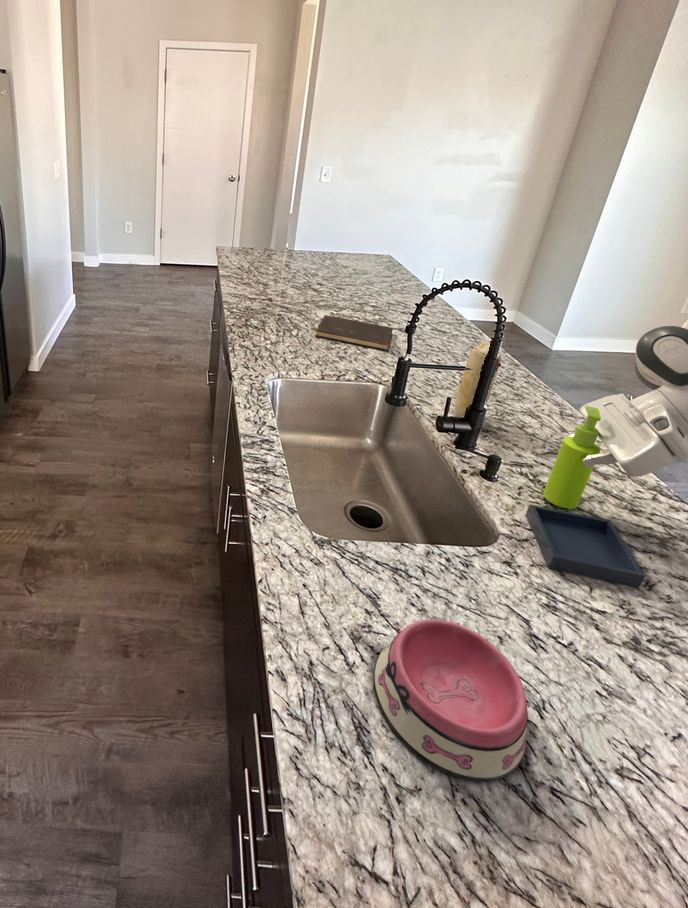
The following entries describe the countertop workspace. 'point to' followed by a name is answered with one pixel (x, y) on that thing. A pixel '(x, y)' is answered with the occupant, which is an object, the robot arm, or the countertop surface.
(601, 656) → the countertop surface
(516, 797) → the countertop surface
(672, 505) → the countertop surface
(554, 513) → the drip tray
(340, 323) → the hardcover book
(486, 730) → the dog bowl
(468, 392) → the food model
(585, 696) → the countertop surface
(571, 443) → the soap dispenser
